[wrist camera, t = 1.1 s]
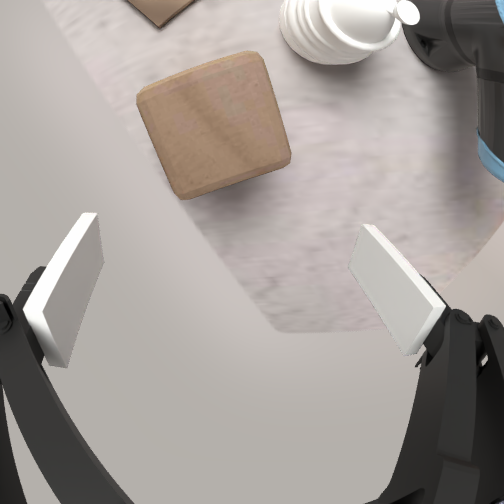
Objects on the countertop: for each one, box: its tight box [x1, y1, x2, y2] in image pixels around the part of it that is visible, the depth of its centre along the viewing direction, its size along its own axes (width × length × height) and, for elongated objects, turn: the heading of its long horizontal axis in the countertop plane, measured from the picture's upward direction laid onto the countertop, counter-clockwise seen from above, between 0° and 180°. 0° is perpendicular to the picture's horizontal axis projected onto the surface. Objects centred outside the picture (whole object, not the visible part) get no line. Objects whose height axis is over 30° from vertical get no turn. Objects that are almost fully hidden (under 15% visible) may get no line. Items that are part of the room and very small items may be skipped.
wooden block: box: [136, 51, 291, 200], centre depth 29 cm, size 10×10×20 cm
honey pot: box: [279, 0, 420, 65], centre depth 25 cm, size 13×13×18 cm
